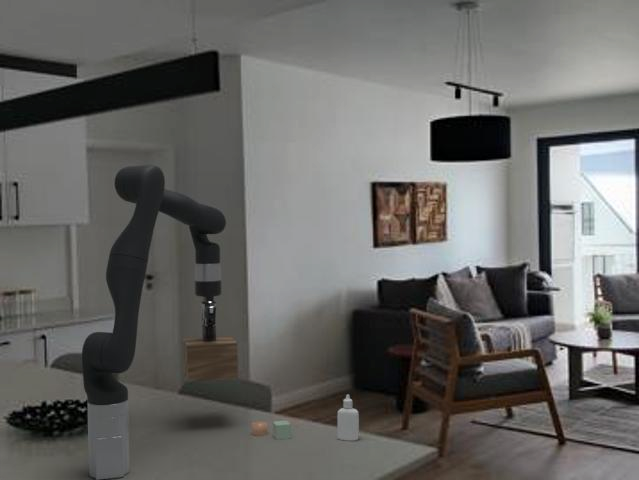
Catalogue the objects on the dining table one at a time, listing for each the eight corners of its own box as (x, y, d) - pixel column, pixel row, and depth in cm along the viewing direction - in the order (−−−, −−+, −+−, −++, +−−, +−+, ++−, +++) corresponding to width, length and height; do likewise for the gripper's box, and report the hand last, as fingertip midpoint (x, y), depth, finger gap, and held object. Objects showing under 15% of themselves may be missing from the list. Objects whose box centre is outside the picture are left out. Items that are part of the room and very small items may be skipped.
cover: (237, 378, 207) (237, 327, 206) (187, 381, 203) (187, 329, 202) (229, 368, 220) (229, 320, 220) (182, 371, 216) (182, 322, 216)
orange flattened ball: (269, 435, 201) (269, 424, 201) (253, 437, 200) (253, 426, 200) (266, 431, 205) (265, 420, 205) (250, 432, 204) (250, 421, 204)
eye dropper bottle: (346, 435, 200) (345, 391, 200) (361, 439, 196) (361, 395, 196) (335, 438, 197) (334, 394, 197) (350, 443, 193) (350, 398, 193)
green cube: (291, 438, 198) (290, 424, 198) (276, 440, 197) (276, 425, 196) (287, 434, 202) (287, 420, 202) (273, 436, 200) (272, 421, 200)
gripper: (224, 280, 205) (225, 341, 205) (217, 276, 218) (218, 334, 219) (197, 281, 203) (198, 343, 203) (192, 277, 216) (193, 335, 217)
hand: (208, 338), depth 211 cm, fingers closed on cover, 3 cm apart
